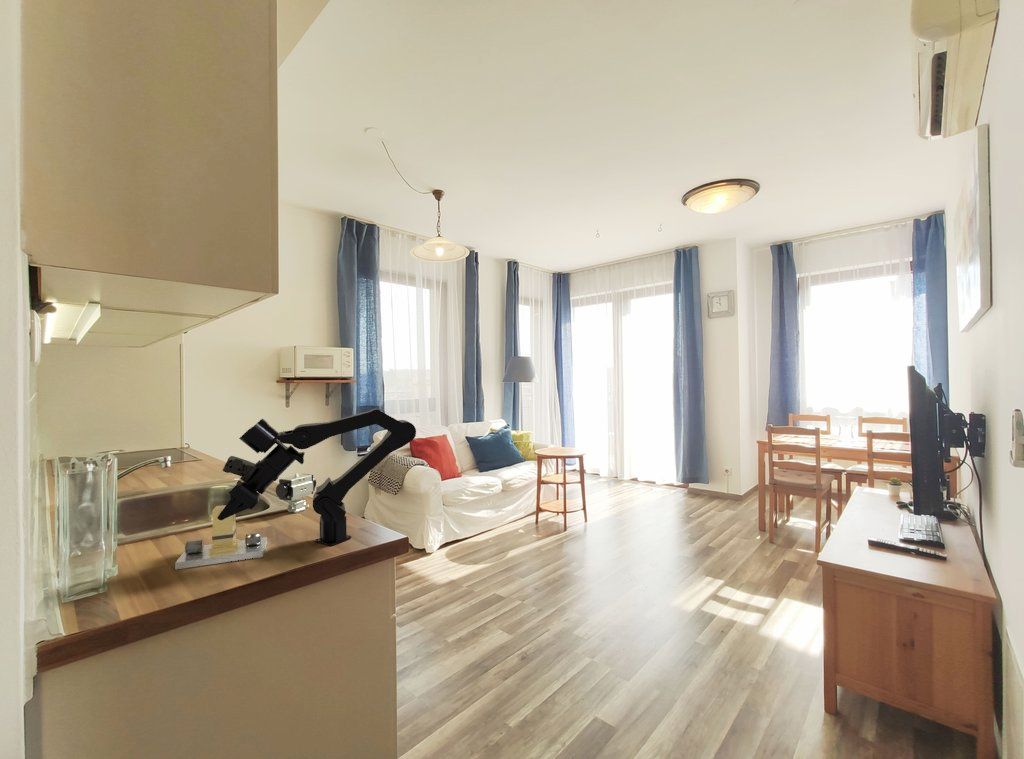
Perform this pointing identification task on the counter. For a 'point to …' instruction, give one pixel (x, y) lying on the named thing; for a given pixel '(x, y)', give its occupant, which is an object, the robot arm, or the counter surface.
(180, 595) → the counter surface
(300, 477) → the pneumatic valve
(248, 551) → the plate
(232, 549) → the yellow banded block
